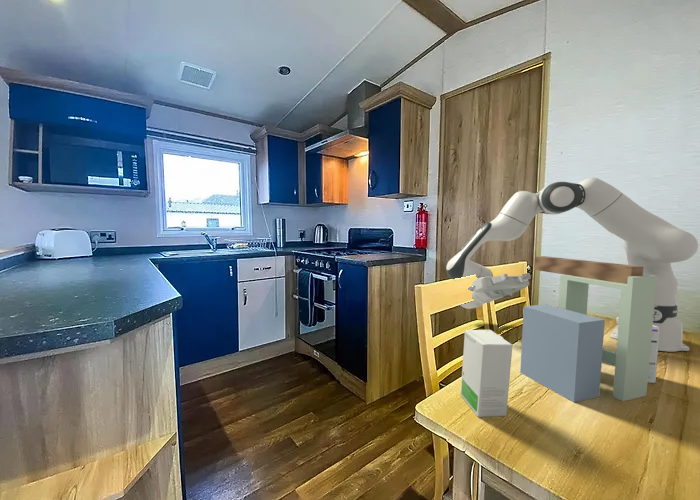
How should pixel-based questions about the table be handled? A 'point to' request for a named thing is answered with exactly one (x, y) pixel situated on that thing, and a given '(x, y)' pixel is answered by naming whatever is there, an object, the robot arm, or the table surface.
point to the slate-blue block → (562, 350)
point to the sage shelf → (621, 328)
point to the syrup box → (653, 355)
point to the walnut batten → (588, 269)
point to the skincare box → (486, 372)
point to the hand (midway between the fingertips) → (517, 275)
